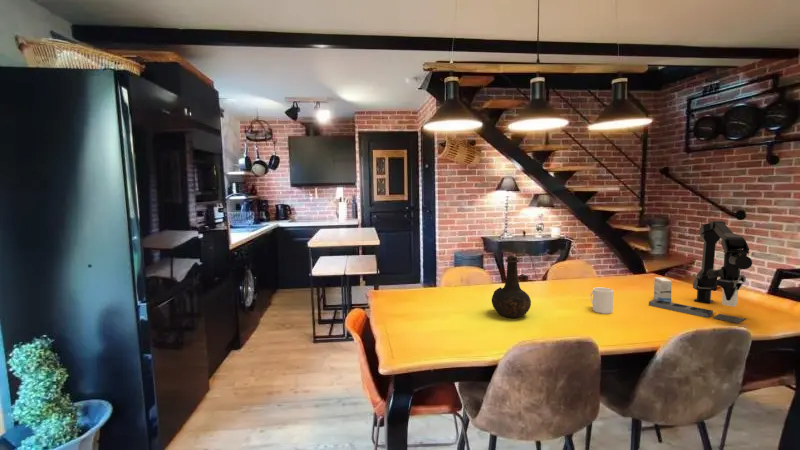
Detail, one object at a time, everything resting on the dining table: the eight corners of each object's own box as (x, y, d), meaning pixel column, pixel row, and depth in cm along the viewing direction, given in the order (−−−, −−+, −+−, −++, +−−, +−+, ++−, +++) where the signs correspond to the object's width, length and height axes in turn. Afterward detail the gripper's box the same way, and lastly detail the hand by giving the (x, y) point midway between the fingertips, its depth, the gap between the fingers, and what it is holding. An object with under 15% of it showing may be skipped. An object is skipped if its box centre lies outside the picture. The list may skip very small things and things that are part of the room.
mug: (597, 305, 192) (598, 285, 191) (617, 313, 181) (617, 291, 180) (583, 307, 190) (583, 286, 189) (601, 315, 179) (602, 292, 178)
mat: (719, 314, 177) (719, 313, 177) (744, 319, 170) (744, 318, 170) (712, 318, 172) (712, 317, 172) (738, 323, 165) (738, 322, 165)
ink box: (671, 303, 194) (672, 281, 193) (660, 303, 195) (661, 280, 194) (663, 299, 203) (664, 277, 202) (653, 298, 204) (654, 276, 203)
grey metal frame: (654, 302, 196) (654, 299, 196) (712, 314, 177) (713, 310, 176) (648, 305, 192) (648, 301, 192) (707, 317, 173) (708, 313, 172)
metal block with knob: (724, 302, 173) (725, 286, 173) (736, 304, 170) (738, 288, 169) (721, 304, 171) (723, 287, 170) (734, 306, 167) (735, 289, 167)
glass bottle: (503, 306, 193) (504, 251, 191) (537, 314, 180) (538, 255, 178) (484, 315, 181) (484, 256, 178) (518, 324, 168) (519, 261, 165)
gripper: (716, 259, 181) (714, 292, 182) (702, 264, 170) (700, 299, 171) (747, 263, 172) (744, 297, 173) (734, 268, 161) (732, 305, 162)
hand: (729, 299), depth 170 cm, fingers closed on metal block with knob, 4 cm apart
